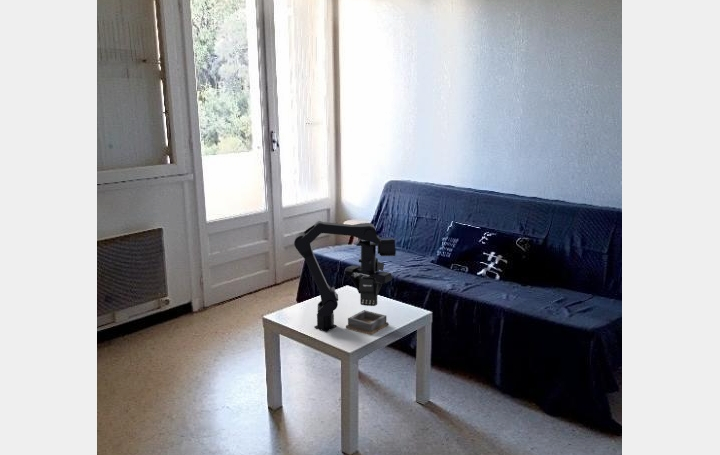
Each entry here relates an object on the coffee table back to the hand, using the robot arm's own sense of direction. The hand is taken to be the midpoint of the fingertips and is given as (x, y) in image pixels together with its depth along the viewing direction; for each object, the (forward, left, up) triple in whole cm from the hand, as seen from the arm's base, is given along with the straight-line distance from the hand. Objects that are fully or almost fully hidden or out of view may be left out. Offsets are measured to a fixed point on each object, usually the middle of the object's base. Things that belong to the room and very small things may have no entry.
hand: (367, 295), depth 225 cm
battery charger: (0, 0, -4) cm, 4 cm away
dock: (-1, 0, -13) cm, 13 cm away
